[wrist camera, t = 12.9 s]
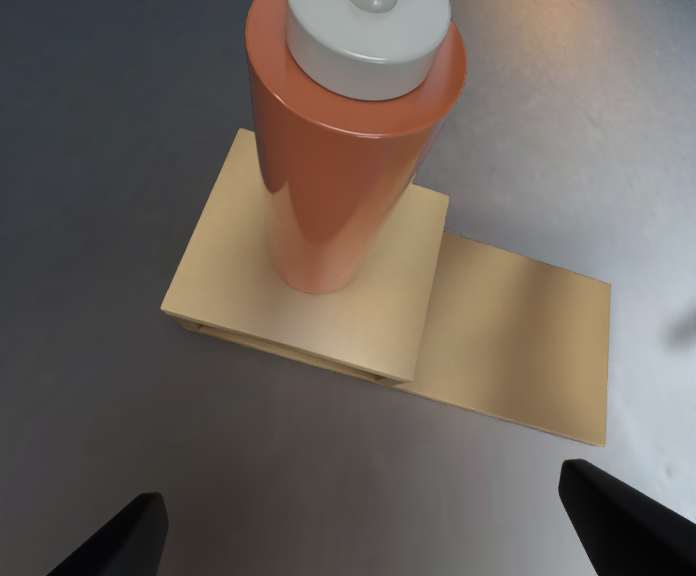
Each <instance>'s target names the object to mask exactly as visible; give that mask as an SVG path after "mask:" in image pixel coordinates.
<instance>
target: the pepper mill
mask: <svg viewBox="0 0 696 576" xmlns="http://www.w3.org/2000/svg"><path fill="white" fill-rule="evenodd" d="M245 44H246V54H247V63H248V73H249V83H250V92H251V102H252V112H253V122H254V131H255V141H256V151H257V160H258V170H259V180H260V190H261V199H262V209H263V219H264V228H265V238H266V248H267V255H268V259H269V261H270V264H271V266H272V268H273V269H274V271H275V273H276V274H277V275H278V276H279V277H280V278H281V279H282V280H283V281H284V282H285V283H287V284H288V285H289V286H291V287H293V288H295V289H297V290H299V291H302V292H306V293H310V294H328V293H332V292H336V291H338V290H341V289H343V288H345V287H346V286H348V285H349V284H351V283H352V282H353V281H354V280H355V279H356V278H357V277H358V275H359V274H360V273H361V271H362V269H363V267H364V265H365V264H366V262H367V260H368V258H369V257H370V255H371V253H372V251H373V250H374V248H375V246H376V244H377V243H378V241H379V239H380V237H381V235H382V234H383V232H384V230H385V228H386V227H387V225H388V223H389V221H390V220H391V218H392V216H393V214H394V212H395V211H396V209H397V207H398V205H399V204H400V202H401V200H402V198H403V197H404V195H405V193H406V191H407V189H408V188H409V186H410V184H411V182H412V181H413V179H414V177H415V175H416V174H417V172H418V170H419V168H420V166H421V165H422V163H423V161H424V159H425V158H426V156H427V154H428V152H429V151H430V149H431V147H432V145H433V143H434V142H435V140H436V138H437V136H438V135H439V133H440V131H441V129H442V128H443V126H444V124H445V122H446V120H447V119H448V117H449V115H450V113H451V112H452V110H453V108H454V106H455V105H456V103H457V101H458V99H459V97H460V96H461V94H462V91H463V88H464V85H465V81H466V75H467V57H466V51H465V46H464V43H463V40H462V37H461V35H460V33H459V31H458V29H457V27H456V25H455V24H454V22H453V20H452V19H451V8H450V1H449V0H254V1H253V4H252V6H251V8H250V10H249V13H248V16H247V20H246V25H245Z"/></svg>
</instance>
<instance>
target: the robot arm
mask: <svg viewBox="0 0 696 576" xmlns="http://www.w3.org/2000/svg"><path fill="white" fill-rule="evenodd" d="M558 490H559V496H560V499H561V501H562V503H563V505H564V508H565V510H566V512H567V514H568V516H569V518H570V520H571V522H572V524H573V526H574V528H575V530H576V532H577V535H578V537H579V539H580V541H581V543H582V545H583V547H584V549H585V551H586V553H587V555H588V557H589V559H590V561H591V563H592V565H593V567H594V569H595V571H596V573H597V575H598V576H696V524H695V523H693V522H691V521H690V520H688V519H686V518H684V517H683V516H681V515H679V514H677V513H676V512H674V511H672V510H671V509H669V508H667V507H665V506H664V505H662V504H660V503H658V502H657V501H655V500H653V499H652V498H650V497H648V496H646V495H645V494H643V493H641V492H639V491H638V490H636V489H634V488H633V487H631V486H629V485H627V484H626V483H624V482H622V481H620V480H619V479H617V478H615V477H614V476H612V475H610V474H608V473H607V472H605V471H603V470H601V469H600V468H598V467H596V466H595V465H593V464H591V463H589V462H588V461H586V460H584V459H570V460H565V461H564V462H563V463H562V468H561V474H560V481H559V487H558ZM168 527H169V521H168V516H167V512H166V508H165V504H164V499H163V496H162V494H161V493H159V492H151V493H142V494H140V495H138V496H137V497H136V498H135V499H134V500H132V501H131V502H130V503H129V504H128V505H127V506H126V507H124V508H123V509H122V510H121V511H120V512H119V513H118V514H116V515H115V516H114V517H113V518H112V519H111V520H110V521H108V522H107V523H106V524H105V525H104V526H103V527H101V528H100V529H99V530H98V531H97V532H96V533H95V534H93V535H92V536H91V537H90V538H89V539H88V540H87V541H85V542H84V543H83V544H82V545H81V546H80V547H79V548H77V549H76V550H75V551H74V552H73V553H72V554H71V555H69V556H68V557H67V558H66V559H65V560H64V561H63V562H61V563H60V564H59V565H58V566H57V567H56V568H54V569H53V570H52V571H51V572H50V573H49V574H48V575H46V576H156V574H157V571H158V567H159V563H160V559H161V556H162V552H163V548H164V544H165V541H166V537H167V533H168Z"/></svg>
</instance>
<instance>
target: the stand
mask: <svg viewBox="0 0 696 576" xmlns="http://www.w3.org/2000/svg"><path fill="white" fill-rule="evenodd" d="M449 198H450V196H448V195H445V194H442V193H439V192H436V191H433V190H430V189H427V188H424V187H421V186H418V185H415V184H412V183H411V184H410V186H409V188H408V189H407V191H406V193H405V195H404V197H403V198H402V200H401V202H400V204H399V205H398V207H397V209H396V211H395V212H394V214H393V216H392V218H391V220H390V221H389V223H388V225H387V227H386V228H385V230H384V232H383V234H382V235H381V237H380V239H379V241H378V243H377V244H376V246H375V248H374V250H373V251H372V253H371V255H370V257H369V258H368V260H367V262H366V264H365V265H364V267H363V269H362V271H361V273H360V274H359V275H358V277H357V278H356V279H355V280H354V281H353V282H352V283H351V284H349V285H348V286H346V287H345V288H343V289H341V290H338V291H336V292H332V293H328V294H310V293H306V292H302V291H299V290H297V289H295V288H293V287H291V286H289V285H288V284H287V283H285V282H284V281H283V280H282V279H281V278H280V277H279V276H278V275H277V274H276V273H275V271H274V269H273V268H272V266H271V264H270V261H269V259H268V255H267V248H266V238H265V228H264V219H263V209H262V199H261V190H260V180H259V170H258V160H257V151H256V141H255V132H252V131H249V130H246V129H243V128H240V129H239V131H238V133H237V135H236V138H235V140H234V142H233V144H232V147H231V149H230V151H229V153H228V156H227V158H226V160H225V163H224V165H223V167H222V169H221V172H220V174H219V176H218V178H217V181H216V183H215V185H214V187H213V190H212V192H211V194H210V196H209V199H208V201H207V203H206V206H205V208H204V210H203V212H202V215H201V217H200V219H199V221H198V224H197V226H196V228H195V230H194V233H193V235H192V237H191V239H190V242H189V244H188V246H187V249H186V251H185V253H184V255H183V258H182V260H181V262H180V264H179V267H178V269H177V271H176V273H175V276H174V278H173V280H172V282H171V285H170V287H169V289H168V292H167V294H166V296H165V298H164V301H163V303H162V305H161V307H160V309H162V310H163V311H164V312H165V313H167V314H168V315H169V316H170V317H172V318H173V319H174V320H175V321H176V322H178V323H179V324H180V325H181V326H182V327H184V328H185V329H187V330H190V331H194V332H197V333H201V334H204V335H208V336H211V337H215V338H218V339H222V340H225V341H229V342H232V343H236V344H239V345H243V346H246V347H250V348H253V349H257V350H260V351H264V352H267V353H271V354H274V355H278V356H281V357H285V358H288V359H292V360H295V361H299V362H302V363H306V364H309V365H313V366H316V367H320V368H323V369H327V370H330V371H334V372H337V373H341V374H344V375H348V376H351V377H355V378H358V379H362V380H365V381H369V382H372V383H376V384H379V385H383V386H386V387H390V388H393V389H397V390H400V391H404V392H407V393H411V394H414V395H418V396H421V397H424V398H428V399H431V400H435V401H438V402H442V403H445V404H449V405H452V406H456V407H459V408H463V409H466V410H470V411H473V412H477V413H480V414H484V415H487V416H491V417H494V418H498V419H501V420H505V421H508V422H512V423H515V424H519V425H522V426H526V427H529V428H533V429H536V430H540V431H543V432H547V433H550V434H554V435H557V436H561V437H564V438H568V439H571V440H575V441H578V442H582V443H585V444H589V445H592V446H601V447H605V440H606V411H607V381H608V352H609V322H610V293H611V284H609V283H606V282H603V281H599V280H596V279H593V278H590V277H587V276H584V275H581V274H578V273H574V272H571V271H568V270H565V269H562V268H559V267H556V266H552V265H549V264H546V263H543V262H540V261H537V260H534V259H531V258H527V257H524V256H521V255H518V254H515V253H512V252H509V251H505V250H502V249H499V248H496V247H493V246H490V245H487V244H483V243H480V242H477V241H474V240H471V239H468V238H465V237H462V236H458V235H455V234H452V233H449V232H446V231H443V228H444V223H445V218H446V213H447V208H448V203H449Z"/></svg>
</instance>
